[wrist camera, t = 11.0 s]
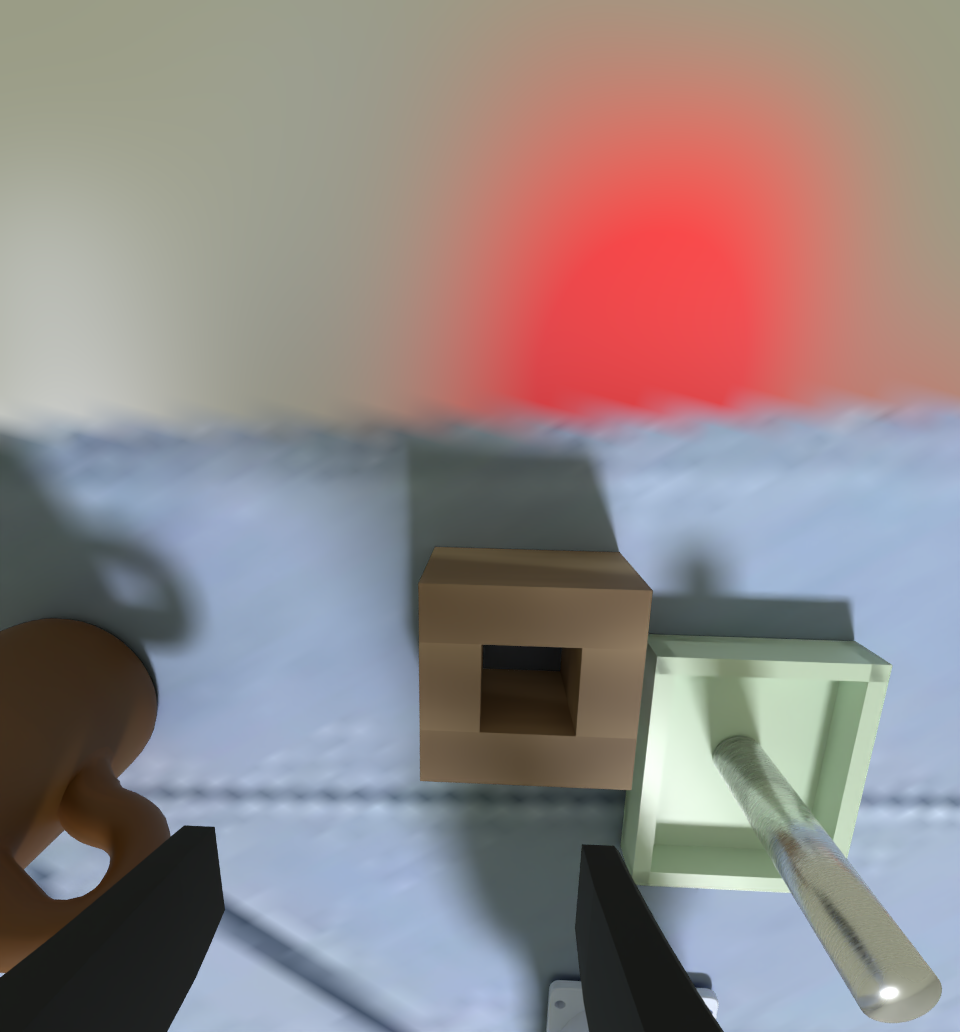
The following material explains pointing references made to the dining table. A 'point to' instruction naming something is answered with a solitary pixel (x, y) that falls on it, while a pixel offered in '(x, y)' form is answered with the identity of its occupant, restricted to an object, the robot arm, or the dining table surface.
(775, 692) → the tray
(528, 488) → the dining table surface
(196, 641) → the dining table surface
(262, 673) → the dining table surface
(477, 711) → the walnut block
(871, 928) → the pin
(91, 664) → the mug
